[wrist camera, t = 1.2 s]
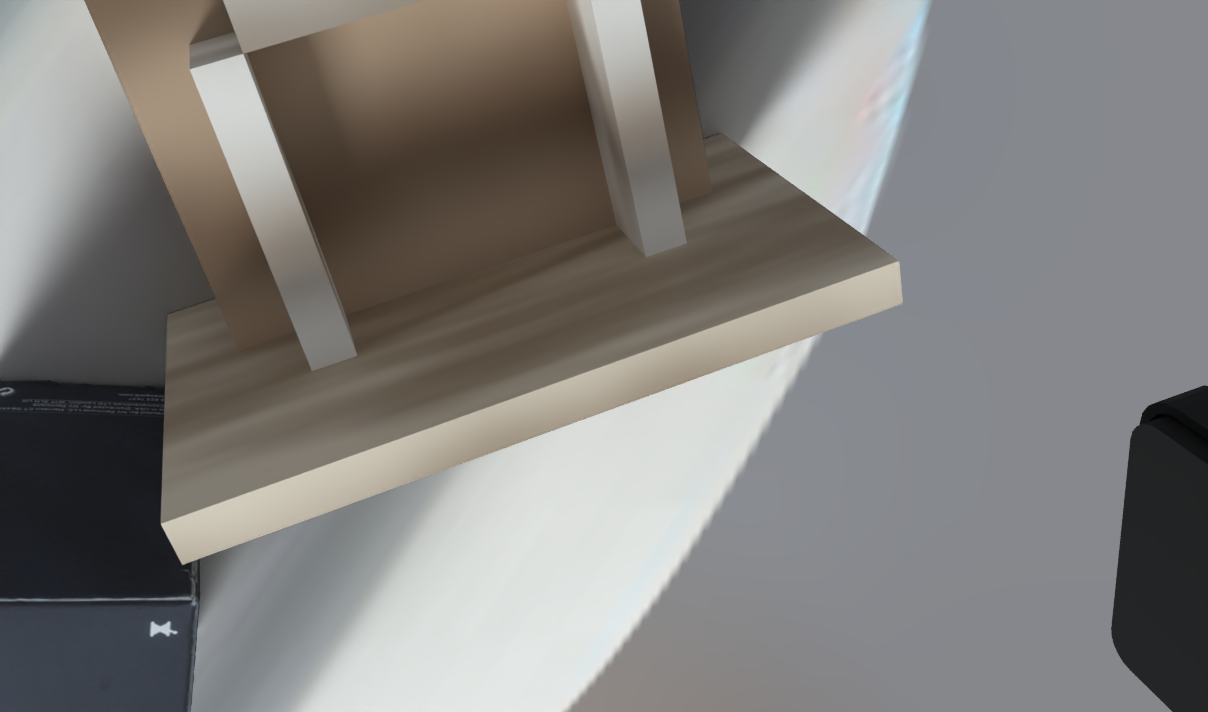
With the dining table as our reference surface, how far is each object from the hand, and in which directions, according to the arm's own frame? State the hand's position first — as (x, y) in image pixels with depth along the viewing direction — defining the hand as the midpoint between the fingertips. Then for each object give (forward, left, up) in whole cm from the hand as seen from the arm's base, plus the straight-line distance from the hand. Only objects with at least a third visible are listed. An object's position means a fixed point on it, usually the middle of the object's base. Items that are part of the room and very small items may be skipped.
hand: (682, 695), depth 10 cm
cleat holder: (+2, +2, -26) cm, 26 cm away
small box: (+12, -12, -27) cm, 32 cm away
